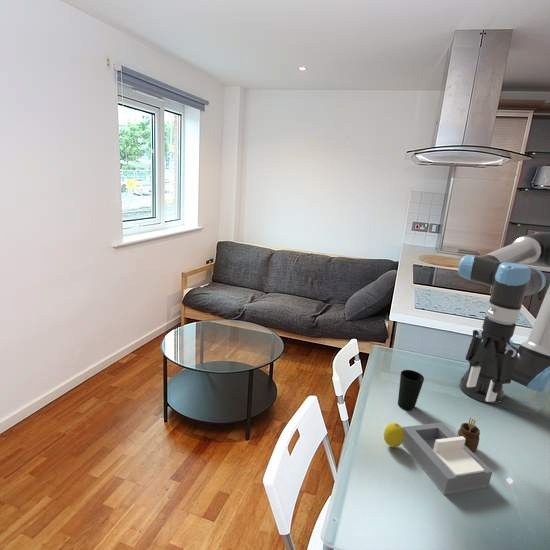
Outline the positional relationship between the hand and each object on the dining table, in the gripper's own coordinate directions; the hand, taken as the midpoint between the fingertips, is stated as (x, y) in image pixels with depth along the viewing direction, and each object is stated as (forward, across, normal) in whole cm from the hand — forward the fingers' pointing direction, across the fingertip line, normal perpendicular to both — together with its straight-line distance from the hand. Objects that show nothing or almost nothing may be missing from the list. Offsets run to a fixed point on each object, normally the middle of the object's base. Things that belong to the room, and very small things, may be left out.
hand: (480, 393), depth 110 cm
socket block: (+19, +4, -12) cm, 23 cm away
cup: (+19, -22, -6) cm, 30 cm away
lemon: (+19, -4, -23) cm, 30 cm away
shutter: (+14, +9, -12) cm, 21 cm away
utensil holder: (+19, 0, 0) cm, 19 cm away
